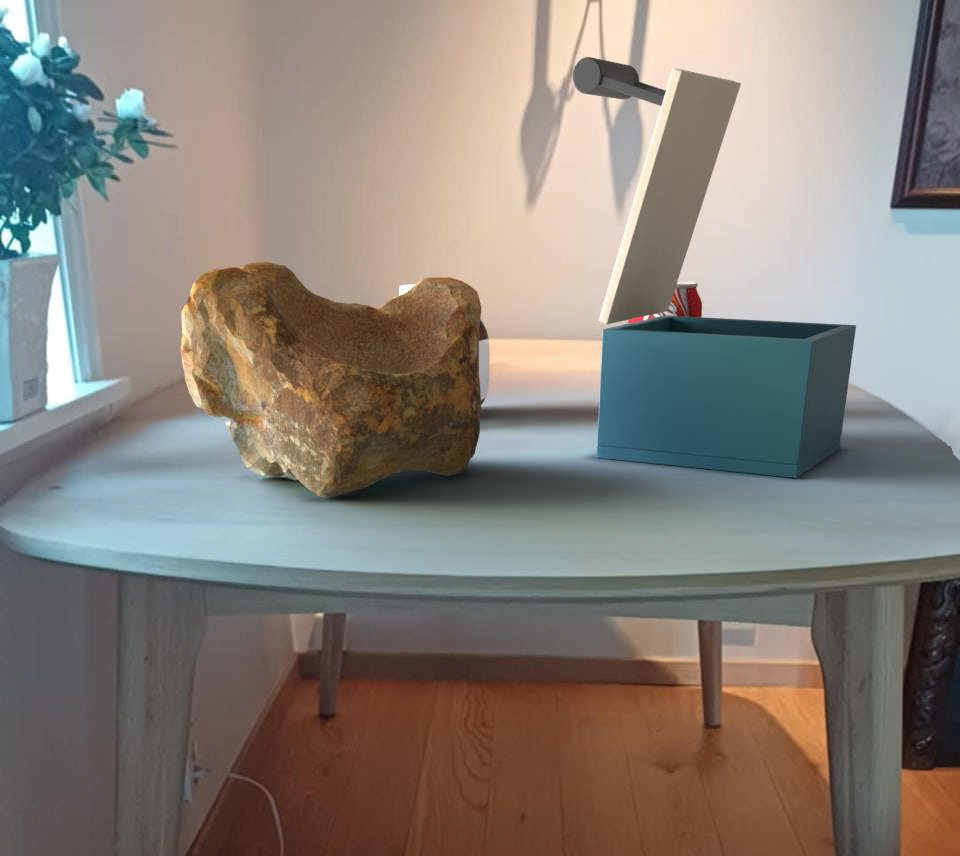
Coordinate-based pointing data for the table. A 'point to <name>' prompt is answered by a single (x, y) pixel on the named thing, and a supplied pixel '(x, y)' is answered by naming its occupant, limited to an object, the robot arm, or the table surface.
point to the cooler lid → (662, 179)
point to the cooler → (724, 393)
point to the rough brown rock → (335, 376)
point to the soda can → (680, 303)
